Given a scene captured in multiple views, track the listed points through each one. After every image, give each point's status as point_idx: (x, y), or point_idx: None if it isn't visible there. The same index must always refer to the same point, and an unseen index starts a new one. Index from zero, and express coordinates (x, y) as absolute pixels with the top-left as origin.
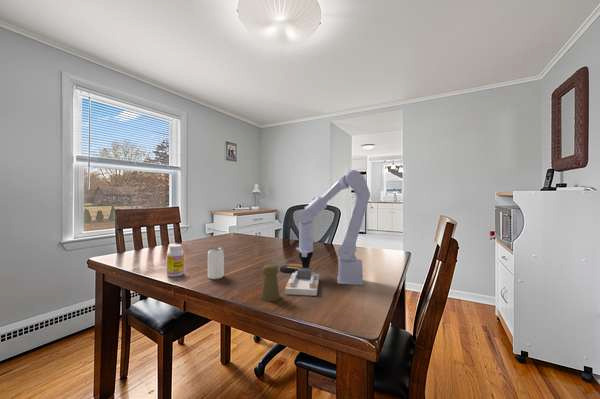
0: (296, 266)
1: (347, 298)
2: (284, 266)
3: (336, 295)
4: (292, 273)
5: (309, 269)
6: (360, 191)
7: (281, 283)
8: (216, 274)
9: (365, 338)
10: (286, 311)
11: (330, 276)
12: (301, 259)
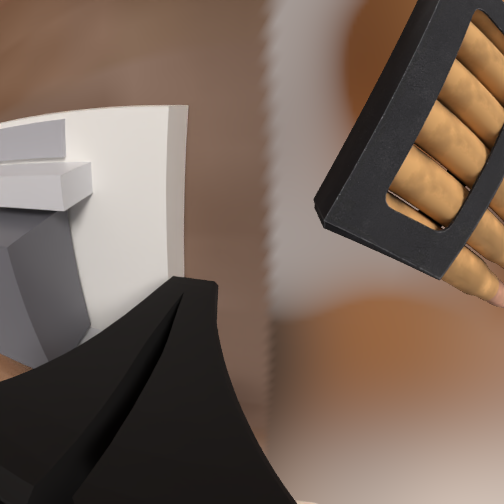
0: (498, 174)
1: (5, 378)
2: (494, 17)
3: (3, 359)
4: (139, 107)
5: (17, 354)
6: None
7: (31, 43)
8: None
9: None
10: None
11: (251, 412)
12: (27, 381)
